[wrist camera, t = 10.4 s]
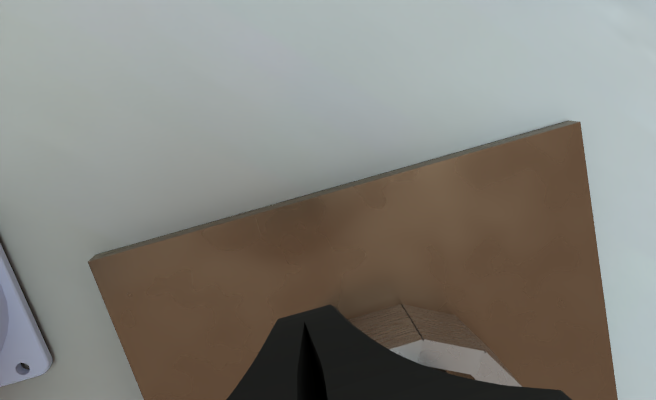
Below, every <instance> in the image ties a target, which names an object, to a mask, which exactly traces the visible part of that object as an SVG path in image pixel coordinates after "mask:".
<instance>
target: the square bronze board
mask: <svg viewBox="0 0 656 400" xmlns="http://www.w3.org/2000/svg"><path fill="white" fill-rule="evenodd" d="M88 263H89V266H90V268H91V271H92V273H93V276H94V278H95V281H96V283H97V285H98V288H99V290H100V293H101V295H102V298H103V300H104V303H105V305H106V308H107V310H108V312H109V315H110V317H111V320H112V322H113V325H114V327H115V330H116V332H117V334H118V337H119V339H120V342H121V344H122V347H123V349H124V352H125V354H126V357H127V359H128V361H129V364H130V366H131V369H132V371H133V374H134V376H135V379H136V381H137V383H138V386H139V388H140V391H141V393H142V396H143V398H144V400H226V399H227V398H228V397H229V396H230V394H231V393H232V392H233V390H234V389H235V388H236V386H237V385H238V383H239V382H240V381H241V379H242V378H243V376H244V375H245V373H246V372H247V371H248V369H249V368H250V366H251V365H252V363H253V361H254V360H255V358H256V356H257V355H258V353H259V351H260V350H261V348H262V346H263V344H264V343H265V341H266V339H267V337H268V335H269V334H270V332H271V330H272V328H273V326H274V325H275V323H276V321H277V320H278V319H280V318H283V317H287V316H290V315H294V314H297V313H301V312H305V311H308V310H312V309H315V308H319V307H323V306H326V305H330V304H331V305H332V306H334V307H336V308H337V310H338V311H339V312H340V313H341V314H342V315H343V316H344V317H345V318H346V319H347V320H349V321H350V322H351V323H352V324H353V325H354V326H356V327H357V328H358V329H359V330H361V331H362V332H364V333H365V334H366V335H368V336H369V337H370V338H372V339H373V340H375V341H376V342H378V343H379V344H381V345H383V346H384V347H386V348H387V349H389V350H391V351H392V352H394V353H396V354H398V355H401V356H403V357H405V358H407V359H410V360H412V361H414V362H416V363H419V364H421V365H424V366H428V367H434V368H439V369H444V370H446V372H447V373H449V374H452V375H456V376H460V377H464V378H468V379H473V380H478V381H484V382H489V383H495V384H500V385H507V386H519V387H530V388H542V389H554V390H561V391H563V392H564V393H565V394H566V395H567V396H568V397H569V398H571V399H572V400H618V398H617V391H616V384H615V376H614V369H613V361H612V354H611V347H610V339H609V332H608V324H607V317H606V309H605V302H604V295H603V287H602V280H601V272H600V265H599V258H598V250H597V243H596V235H595V228H594V220H593V213H592V206H591V198H590V191H589V183H588V176H587V168H586V161H585V154H584V146H583V139H582V131H581V124H580V122H576V121H566V122H562V123H559V124H555V125H552V126H548V127H545V128H541V129H538V130H534V131H531V132H527V133H524V134H520V135H517V136H513V137H510V138H506V139H503V140H499V141H495V142H492V143H488V144H485V145H481V146H478V147H474V148H471V149H467V150H464V151H460V152H457V153H453V154H450V155H446V156H443V157H439V158H436V159H432V160H428V161H425V162H421V163H418V164H414V165H411V166H407V167H404V168H400V169H397V170H393V171H390V172H386V173H383V174H379V175H376V176H372V177H369V178H365V179H361V180H358V181H354V182H351V183H347V184H344V185H340V186H337V187H333V188H330V189H326V190H323V191H319V192H316V193H312V194H309V195H305V196H302V197H298V198H294V199H291V200H287V201H284V202H280V203H277V204H273V205H270V206H266V207H263V208H259V209H256V210H252V211H249V212H245V213H242V214H238V215H235V216H231V217H227V218H224V219H220V220H217V221H213V222H210V223H206V224H203V225H199V226H196V227H192V228H189V229H185V230H182V231H178V232H175V233H171V234H168V235H164V236H160V237H157V238H153V239H150V240H146V241H143V242H139V243H136V244H132V245H129V246H125V247H122V248H118V249H115V250H111V251H108V252H104V253H101V254H97V255H95V256H94V257H93V258H91V259H90V260H89V261H88Z"/></svg>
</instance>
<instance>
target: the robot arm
mask: <svg viewBox="0 0 656 400" xmlns="http://www.w3.org/2000/svg"><path fill="white" fill-rule="evenodd" d="M21 363H25V364H27V365H28V366H29V367H30V369H24V368H23V367H22V366H21ZM51 365H52V357H51V354H50V352H49V350H48V348H47V346H46V343H45V341H44V339H43V337H42V334H41V332H40V330H39V328H38V326H37V323H36V321H35V319H34V317H33V314H32V312H31V310H30V308H29V306H28V303H27V301H26V299H25V297H24V295H23V292H22V290H21V288H20V286H19V283H18V281H17V279H16V277H15V275H14V272H13V270H12V268H11V266H10V263H9V261H8V259H7V257H6V255H5V252H4V250H3V248H2V246H1V243H0V387H3V386H6V385H9V384H13V383H16V382H20V381H23V380H26V379H30V378H33V377H36V376H40V375H42V374H44V373H46V371H47V370H48V369H49V368H50V367H51ZM226 400H572V399H571V398H569V397H568V396H567V395H566V394H565V393H564V392H563V391H561V390H554V389H542V388H530V387H519V386H507V385H500V384H495V383H489V382H484V381H478V380H473V379H468V378H464V377H460V376H456V375H452V374H449V373H446V372H442V371H439V370H436V369H433V368H430V367H427V366H424V365H421V364H419V363H416V362H414V361H412V360H410V359H407V358H405V357H403V356H401V355H398V354H396V353H394V352H392V351H391V350H389V349H387V348H386V347H384V346H383V345H381V344H379V343H378V342H376V341H375V340H373V339H372V338H370V337H369V336H368V335H366V334H365V333H364V332H362V331H361V330H359V329H358V328H357V327H356V326H354V325H353V324H352V323H351V322H350V321H349V320H347V319H346V318H345V317H344V316H343V315H342V314H341V313H340V312H339V311H338V310H337V308H336V307H334V306H332V305H331V304H330V305H326V306H323V307H319V308H315V309H312V310H308V311H305V312H301V313H297V314H294V315H290V316H287V317H283V318H280V319H278V320H277V321H276V323H275V325H274V326H273V328H272V330H271V332H270V334H269V335H268V337H267V339H266V341H265V343H264V344H263V346H262V348H261V350H260V351H259V353H258V355H257V356H256V358H255V360H254V361H253V363H252V365H251V366H250V368H249V369H248V371H247V372H246V373H245V375H244V376H243V378H242V379H241V381H240V382H239V383H238V385H237V386H236V388H235V389H234V390H233V392H232V393H231V394H230V396H229V397H228V398H227V399H226Z"/></svg>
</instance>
